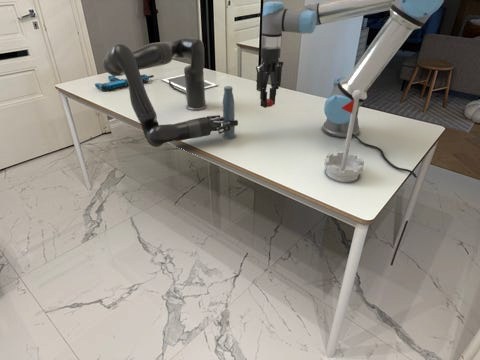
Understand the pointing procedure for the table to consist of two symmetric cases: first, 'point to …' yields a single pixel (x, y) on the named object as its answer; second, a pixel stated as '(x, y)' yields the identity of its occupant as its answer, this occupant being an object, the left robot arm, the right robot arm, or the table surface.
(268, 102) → the cap
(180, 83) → the tablet
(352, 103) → the flag stand
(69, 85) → the table surface
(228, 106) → the bottle
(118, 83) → the submachine gun
